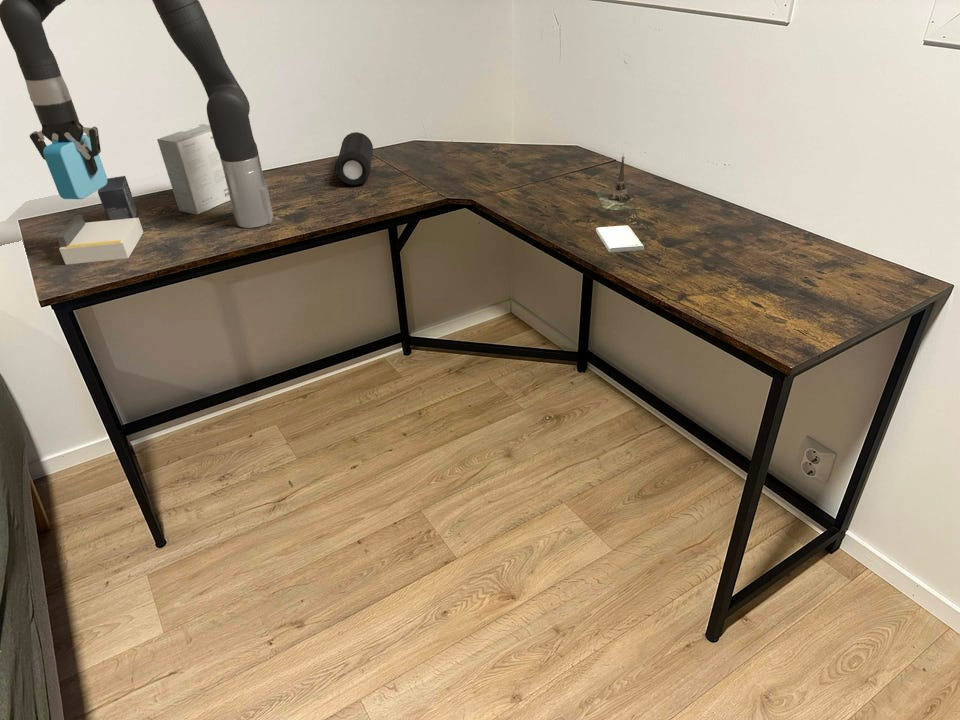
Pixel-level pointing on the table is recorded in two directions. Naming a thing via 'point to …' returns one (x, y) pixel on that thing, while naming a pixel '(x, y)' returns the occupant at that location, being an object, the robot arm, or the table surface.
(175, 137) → the hard drive box
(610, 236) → the hard drive
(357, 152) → the portable speaker
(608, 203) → the eiffel tower figurine
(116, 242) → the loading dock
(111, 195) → the small box
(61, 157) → the data package
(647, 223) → the table surface
